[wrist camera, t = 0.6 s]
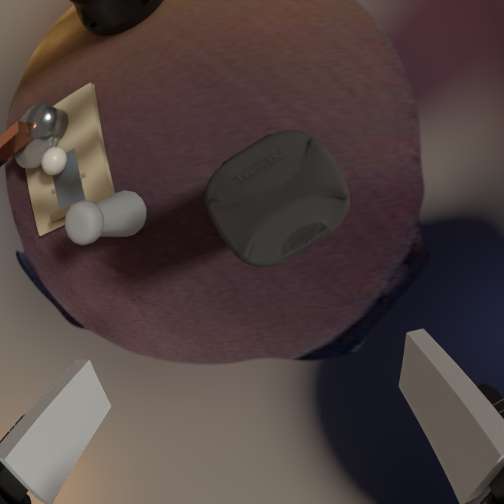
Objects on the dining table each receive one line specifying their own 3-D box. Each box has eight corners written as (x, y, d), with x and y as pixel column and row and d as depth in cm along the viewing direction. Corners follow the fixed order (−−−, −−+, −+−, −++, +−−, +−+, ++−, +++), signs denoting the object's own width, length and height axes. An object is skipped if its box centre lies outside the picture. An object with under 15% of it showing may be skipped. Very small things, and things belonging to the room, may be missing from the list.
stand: (25, 130, 33) (9, 128, 29) (94, 84, 32) (79, 76, 28) (44, 235, 37) (27, 239, 33) (117, 202, 36) (101, 204, 31)
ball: (51, 154, 33) (34, 153, 29) (69, 143, 32) (52, 141, 29) (55, 179, 34) (38, 179, 30) (74, 168, 33) (57, 168, 29)
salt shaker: (156, 195, 35) (105, 200, 22) (148, 237, 36) (97, 261, 24) (119, 186, 35) (59, 189, 22) (112, 227, 36) (53, 246, 24)
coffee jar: (255, 242, 36) (244, 296, 18) (220, 188, 35) (173, 188, 16) (321, 201, 34) (378, 215, 16) (287, 146, 33) (310, 102, 15)
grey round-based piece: (4, 137, 32) (-25, 135, 25) (65, 90, 31) (35, 79, 23) (10, 189, 34) (-20, 192, 27) (72, 147, 32) (39, 143, 25)
